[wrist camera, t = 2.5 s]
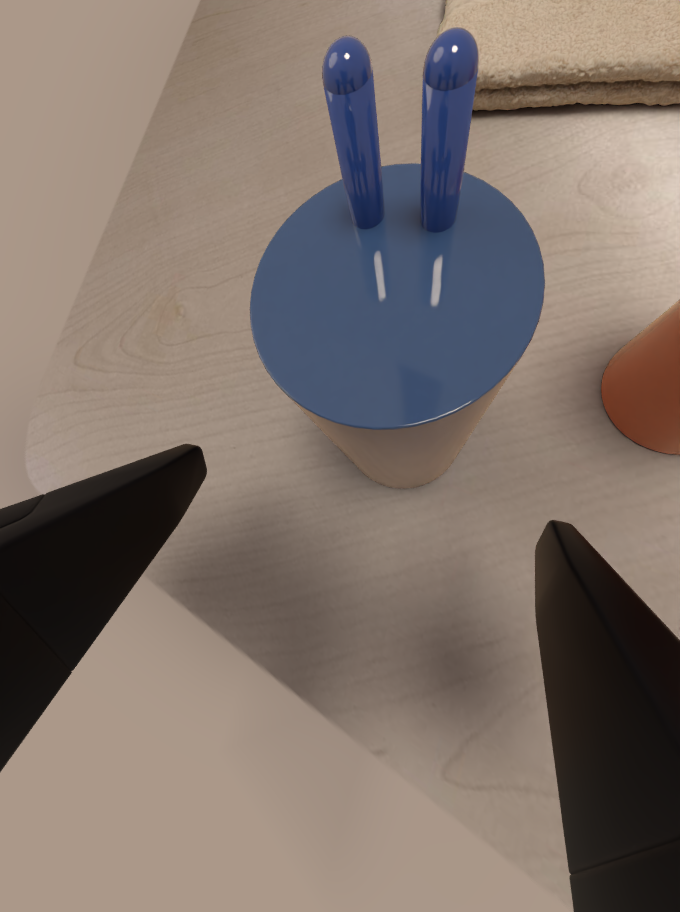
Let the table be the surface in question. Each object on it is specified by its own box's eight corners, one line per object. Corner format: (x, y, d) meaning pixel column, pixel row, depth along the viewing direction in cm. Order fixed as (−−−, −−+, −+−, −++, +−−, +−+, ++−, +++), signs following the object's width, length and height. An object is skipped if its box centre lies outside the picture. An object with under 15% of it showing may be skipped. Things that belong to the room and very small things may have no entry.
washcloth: (752, 110, 20) (812, 37, 17) (421, 125, 24) (422, 68, 21) (757, -57, 22) (812, -150, 19) (447, -17, 26) (452, -88, 23)
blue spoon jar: (450, 500, 19) (602, 403, 4) (335, 476, 21) (106, 334, 5) (471, 386, 20) (664, -69, 5) (359, 371, 22) (224, -16, 6)
